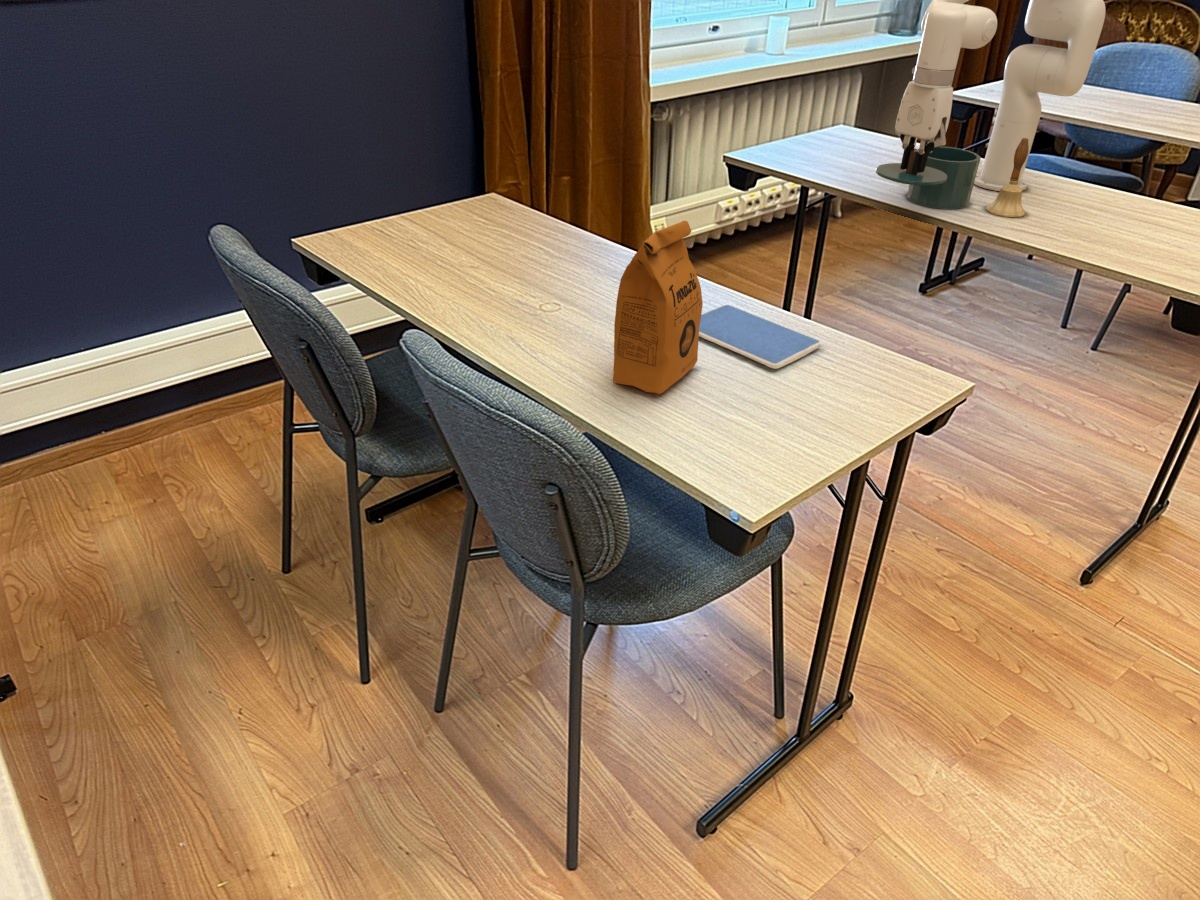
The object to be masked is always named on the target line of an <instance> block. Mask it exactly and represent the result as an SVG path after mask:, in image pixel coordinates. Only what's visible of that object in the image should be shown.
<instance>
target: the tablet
mask: <svg viewBox="0 0 1200 900" xmlns="http://www.w3.org/2000/svg"><path fill="white" fill-rule="evenodd" d="M699 338H702V339H704V340H707V341H709V342H712V343H714V344H716V345H718V346H720V347H722V348H725V349H728V350H729V351H732V352H735V353H737V354H739V355H742V356H743V357H746V358H748V359H750V360H753V361H755V362H757V363H759V364H762V365H763V366H766V367H768V368H770V369H780V368H782V367H784V366H786V365H789V364H791V363H794V362H795V361H797V360H799V359H801V358H803V357H805V356H807V355H809V354H811V352H814V351H816V350H817V349H819V348H820V347H821V346H822V342H821V341H820V340H819V339H816V338H813V337H812V336H809V335H806V334H803V333H801V332H798V331H795V330H793V329H791V328H788V327H786V326H784V325H780V324H778V323H777V322H776V323H775V322H772V321H770V320H768V319H766V318H763V317H760V316H758V315H755V314H753V313H750V312H748V311H745V310H743V309H741V308H738V307H735V306H732V305H730V304H724V305H721V306H719V307H717V308H715V309H711V310H709V311H707V312H704V313H701V321H700V326H699Z"/></svg>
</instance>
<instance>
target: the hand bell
mask: <svg viewBox="0 0 1200 900" xmlns="http://www.w3.org/2000/svg"><path fill="white" fill-rule="evenodd" d="M1028 149H1029V147H1028V139H1027V138H1022V140H1021V142H1020V144H1019V145H1018V147H1017V149H1016V151H1015V155H1014V168H1013V172H1012V175H1011V178H1010V182H1009V184H1007V185H1004V186H1002V187H1001V189H1000V191H998V192H999V193H998V194H997V196H996V197H995V199H994V200H993V201H992V202H991V203H990V204H988V205H987V206H986V207H985V211H987V212H988V213H990V214H991V215H995V216H998V217H999V216H1000V217H1005V218H1021V217H1024V216H1025V215H1026V210H1025V209H1024V207H1023V204H1022V198H1023V197H1022V195H1023V191H1022V188H1021V187H1019V186H1018V185H1017V184H1018V180H1019V175H1020V171H1021V168H1022V166H1023V164H1024V162H1025V160H1026V158H1027V155H1028Z"/></svg>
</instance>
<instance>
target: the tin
mask: <svg viewBox="0 0 1200 900" xmlns="http://www.w3.org/2000/svg"><path fill="white" fill-rule="evenodd" d="M918 150H919V148H918ZM980 163H981V155H979V154H978V153H976V152H973V151H970V150H967V149H963V148H958V147H952V146H940V147H937V148H935V149H934V150H933V151H932V152H931V153H929V154H928V159H927V163H926V166H927V167H931V168H935V169H938V170H940V171H942V172H944V173H945V174H946V175H947V180H946V181H945V182H944V183H941V184H936V185H909V186H908V190H907V195H906V198H907V199H908V200H909V201H910V202H912V203H913V204H916V205H920V206H922V207H926V208H931V209H937V210H958V209H963V208H966V207H967V206H969V203H970V200H971V195H972V192H973V188H974V185H975V184H974V181H975V178H976V174H978V170H979V166H980Z"/></svg>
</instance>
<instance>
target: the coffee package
mask: <svg viewBox="0 0 1200 900" xmlns="http://www.w3.org/2000/svg"><path fill="white" fill-rule="evenodd" d="M691 233H692V229H691V226H690V223H689V221H688V220H682V221H680V222H677V223H675V224H672V225H669V226H667V227H664V228H661V229H659V230H658V229H657V230H655V231H654V232H653V233H652V234H650V235H649V236H648V237H647V238H646V239H645V240H643V242H642V243H641V245H640V246H639V248H638V250H637V251H636V253H635V254H634V256H633V257H632V258H631V260H630V261H629V263H628V265H626V267H625V269H624V271H623V273H622V276H621V277H620V281H619V286H618V290H617V291H618V292H617V296H616V297H617V298H616V303H615V304H616V305H615V316H614V332H613V333H614V335H613V339H614V341H613V369H612V370H613V372H612V373H613V376H612V381H613V382H614V383H616V384H618V385H623V386H633V387H635V388H637V389H639V390H641V391H643V392H646V393H653V394H663V393H664V392H665V391H667V390H668V389H670V388H671V386H673V385H674V384H675V383H677V382H678V381H679V380H681V379H683V377H684V376H685V375H686V374H687V373H688V372H690V370H692V369H693V368H694V367H695V366H696V364H697V363H698V356H699V355H698V354H699V353H698V351H699V339H700V337H699V326H700V321H701V315H702V314H703V304H704V303H703V295H702V287H701V283H700V281H699V277H698V275H697V272H696V269H695V266H694V265H693V263H692V261H691V260H690V257H689V251H688V249H687V244H686V241H685V240H684V238H686V237H688V236H689V235H690V234H691Z"/></svg>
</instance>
